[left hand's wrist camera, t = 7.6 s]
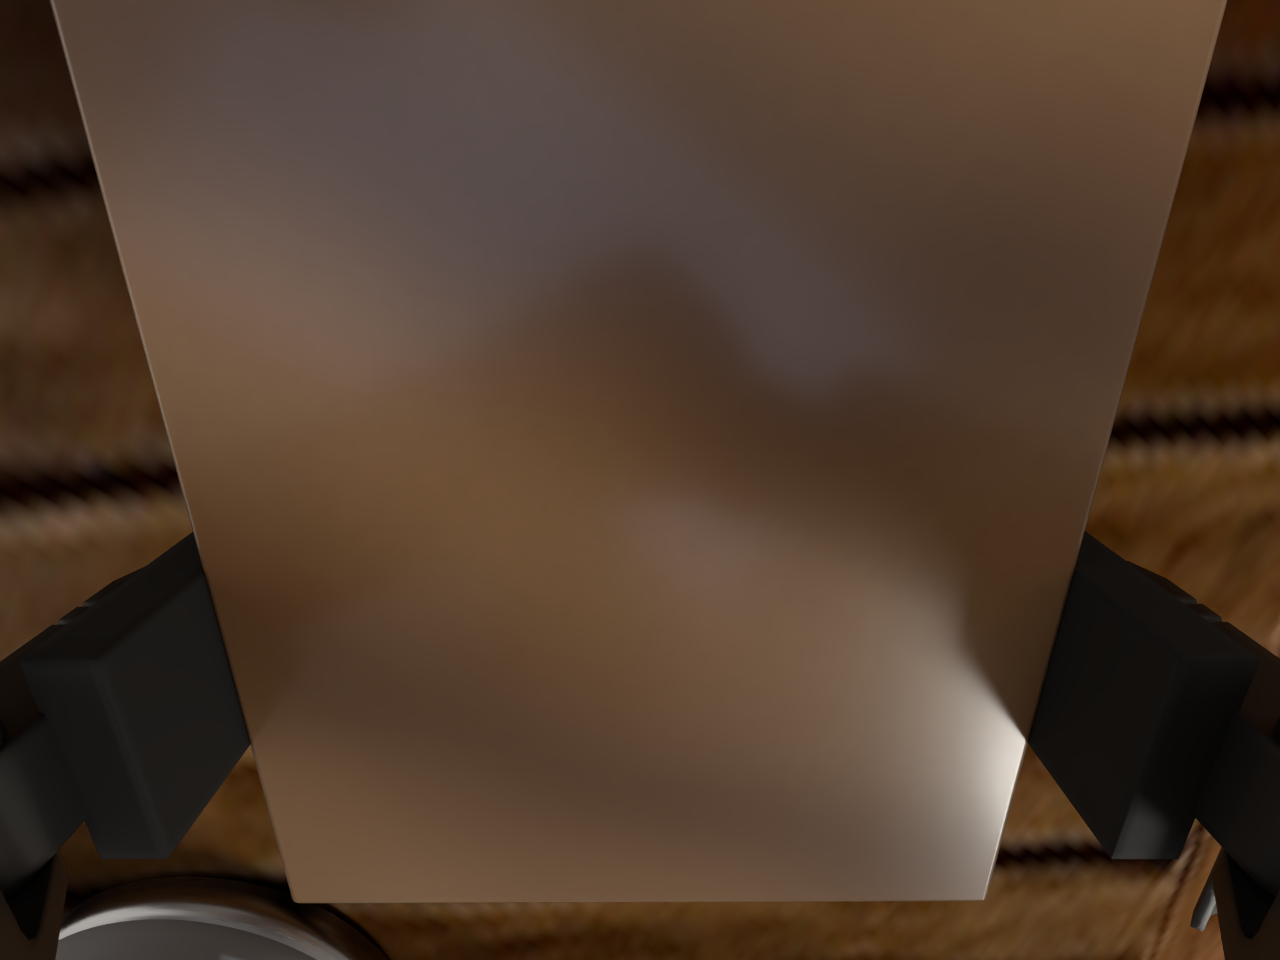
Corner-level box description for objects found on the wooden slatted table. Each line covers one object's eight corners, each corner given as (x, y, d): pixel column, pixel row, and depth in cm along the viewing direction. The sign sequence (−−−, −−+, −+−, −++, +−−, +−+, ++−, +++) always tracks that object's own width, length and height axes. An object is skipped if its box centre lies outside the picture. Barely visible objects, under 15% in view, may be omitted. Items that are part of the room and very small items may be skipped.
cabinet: (369, -378, 13) (-692, -2697, 3) (905, -376, 13) (1956, -2665, 3) (467, 551, 21) (291, 906, 10) (809, 551, 21) (987, 903, 10)
